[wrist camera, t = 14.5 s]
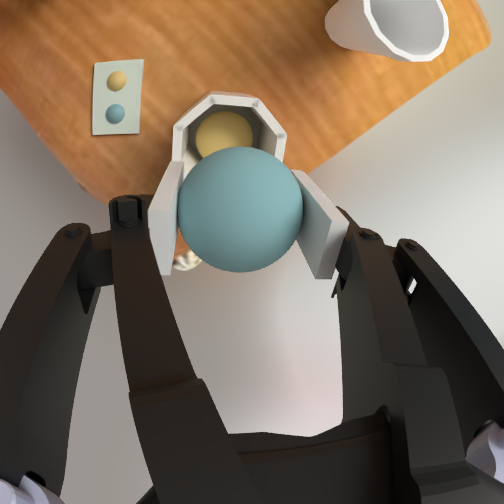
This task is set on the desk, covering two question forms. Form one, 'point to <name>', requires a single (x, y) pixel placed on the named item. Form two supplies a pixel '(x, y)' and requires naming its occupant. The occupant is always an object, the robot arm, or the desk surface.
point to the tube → (249, 107)
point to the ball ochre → (223, 132)
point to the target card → (117, 97)
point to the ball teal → (240, 209)
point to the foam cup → (390, 27)
